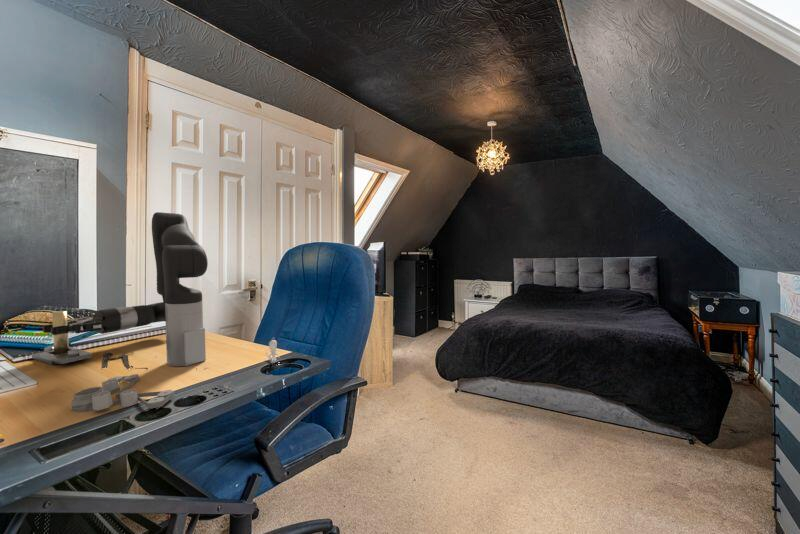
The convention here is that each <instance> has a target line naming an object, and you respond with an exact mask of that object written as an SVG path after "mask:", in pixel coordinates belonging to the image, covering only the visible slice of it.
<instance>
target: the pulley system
mask: <svg viewBox="0 0 800 534" xmlns="http://www.w3.org/2000/svg"><path fill="white" fill-rule="evenodd" d="M122 380H123V381H124V383H125V382H130V383H128V384H126V385H124V386H123V388H121V386H120V384H119V383H121V382H120V381H122ZM123 381H122V382H123ZM136 381H137V382H138V381H140V375H139V374H138V373H136V374H135V373H134V374H130V375H124V376H121V375H119V376H114V377H110V378H107V380H105V381H102V382H101V386H93V387H88V388H86V389H81V390H80V391H79V390H78V391H77V392H74V393H72V396H73V399H72V401H71V403H70V405H71V411H74V412H76V413H80V412H84V413H85V412H90V411H101V410H104V409H108V408H109V407H112V405H113V406H116V405H120V406H122V408H128V407H132V406H134V405H137V404H138V403H139V402H140V403H141V404H142V405H144V406H145V407H146V408H148V409H150V410H151V409H152V410H153V408H156V409H155V410H158V409H160V408H161V407H163V406H164V405H165V404H166V403H167V402H169V401H170V400H171V399H173V398H174V397H175V390H174V389H173V390H172V389H166V390H161V391H149V392H138V390H137V388H130V386H131V385H132V384H133V385H134V384H135V383H137V382H136ZM118 382H119V383H118ZM133 385H132V386H133ZM132 386H131V387H132ZM128 387H129V388H128ZM127 388H128V389H127ZM126 389H127V390H126ZM118 390H119V391H118ZM117 391H118V392H117ZM114 392H115V393H116V394H115V393H114ZM111 393H113V394H115V398H116V400H113V399H112V394H111ZM146 397H153V398H150V399H149V400H148V401H146V400H144V399H143V398H146ZM117 398H118V399H117ZM119 398H120V399H119Z"/></svg>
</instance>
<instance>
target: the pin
mask: <svg viewBox="0 0 800 534" xmlns="http://www.w3.org/2000/svg"><path fill="white" fill-rule="evenodd" d="M51 320H52V322H51V323H52V324H53V327H57V326H63V325H68V321H67V320H68V311H67V310H57V311H53V312H51ZM52 337H53V338H52V339H53V346H54V355H57V354H62V353H67V352H68V351H69V347H70V344H69V333H64V334H58V335H52Z"/></svg>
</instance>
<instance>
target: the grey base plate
mask: <svg viewBox="0 0 800 534" xmlns="http://www.w3.org/2000/svg"><path fill="white" fill-rule="evenodd" d="M90 358H93V353H92V352H89V351H86V350H82V349H79V348H75V347H72V346H69V351H68V352H67V353H62V354H57V355H54V345H53V346H47V347H44V348H43V351H41V352H36V353H31V359H33V360H36V361H39V362H42V363H45V364H47V365H51V366H53V365H58V364H60V365H64V364H68V363H73V362H78V361H80V360H86V359H90Z"/></svg>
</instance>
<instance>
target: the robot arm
mask: <svg viewBox="0 0 800 534" xmlns="http://www.w3.org/2000/svg"><path fill="white" fill-rule="evenodd" d="M151 235H152V244H153V253H154V259H155V268H156V292H157V294H158V295H159V296H160V295H161V297H162V302H161V301H160V302H155V303H151V304H142V305H134V306H121V307H114V308H113V307H112V308H104V309H99V310H97V311H96V312H95V313H94V316H93V317H90V316H83V317H75V318H71V319H69V318H68V319H67V321H68V325H63V326H57V327H53V323H50V324H49V323H48V324H44V325H43V326H42V331H43V333H44V334H45V333H46V334H48V333H51V334H50V335H52V336H53V335H58V334H64V333H68V334H74V333H75V334H81V333H90V332H98V334H101V335H104V334H109V333H110V334H111V333H115V332H121V331H126V330H129V329H133V328H138V327H144V326H147V325H150V324H154V323H155V324H156V323H161V322H165V341H166V342H165V346H166V364H167V366H171V367H189V366H192V365H195V364H199V363H201V362H204V361H206V360H207V358H206V357H207V356H206V354H207V353H206V329H205V328H204V315H203V314H204V310H203V308H204V307H203V293H202V292H203V291H201V290H199V289H195V288H191V287H187V286H185V285H183V284H181V283H180V279H185V278H186V279H187V278H189V279H190V278H198V277H199V278H200V277H202V276H203V275H204V274H205V273H206V272H207V270H208V265H209V264H208V257H207V254H206V251H205V249H204V248H203V247H202V245H201V244H199V242H197V241H196V238H195V236H194V234H193V233H192V232H191V230H190V228H189V225H188V220H187V218H186V217H185V216H184V214H180V213H172V212H162V211H161V212H159V211H157V212H156V211H155V212H154V213H153V215H152V218H151Z"/></svg>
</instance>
